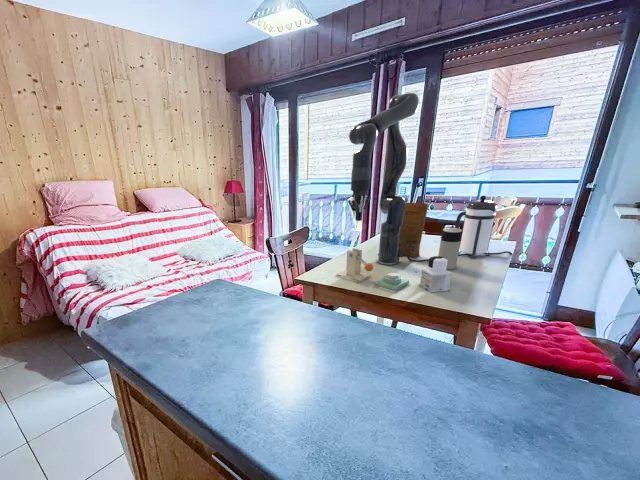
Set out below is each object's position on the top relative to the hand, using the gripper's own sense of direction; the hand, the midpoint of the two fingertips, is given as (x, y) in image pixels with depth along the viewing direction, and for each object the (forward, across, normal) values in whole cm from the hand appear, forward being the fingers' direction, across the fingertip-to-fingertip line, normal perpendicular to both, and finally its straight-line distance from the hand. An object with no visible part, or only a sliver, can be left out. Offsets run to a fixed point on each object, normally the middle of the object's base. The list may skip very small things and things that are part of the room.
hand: (358, 220), depth 140 cm
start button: (+23, -1, +17) cm, 28 cm away
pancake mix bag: (+26, -45, -1) cm, 53 cm away
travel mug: (+26, -39, +24) cm, 53 cm away
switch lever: (+19, 0, +2) cm, 19 cm away
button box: (+26, -1, +17) cm, 31 cm away
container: (+26, -10, +30) cm, 42 cm away
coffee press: (+27, -67, +24) cm, 76 cm away
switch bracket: (+26, 0, -1) cm, 26 cm away
